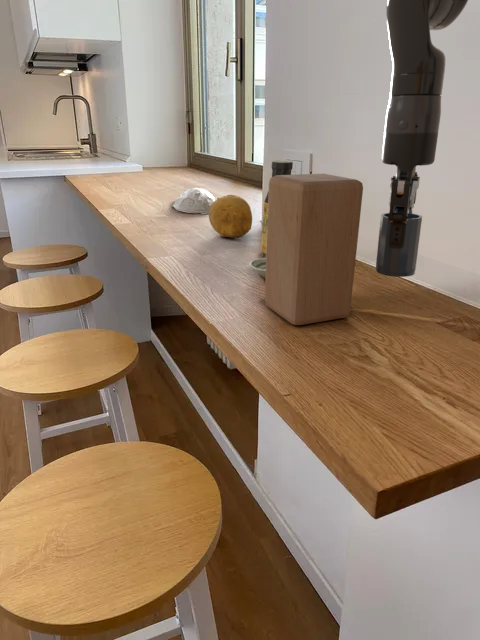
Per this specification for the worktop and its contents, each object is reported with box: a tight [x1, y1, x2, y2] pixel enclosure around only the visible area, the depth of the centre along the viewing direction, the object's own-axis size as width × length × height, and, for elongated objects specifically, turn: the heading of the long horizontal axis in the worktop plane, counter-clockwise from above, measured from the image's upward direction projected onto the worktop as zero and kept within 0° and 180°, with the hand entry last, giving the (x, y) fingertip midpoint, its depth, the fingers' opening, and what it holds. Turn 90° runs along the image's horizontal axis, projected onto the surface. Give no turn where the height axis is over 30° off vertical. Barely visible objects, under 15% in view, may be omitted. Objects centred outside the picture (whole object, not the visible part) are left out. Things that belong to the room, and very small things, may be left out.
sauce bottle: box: [261, 159, 294, 258], centre depth 100 cm, size 7×6×20 cm
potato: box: [208, 194, 253, 240], centre depth 122 cm, size 10×12×10 cm
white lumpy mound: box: [172, 187, 217, 215], centre depth 161 cm, size 16×25×7 cm, turn 7°
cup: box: [375, 212, 423, 278], centre depth 78 cm, size 6×6×9 cm
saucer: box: [248, 257, 266, 279], centre depth 93 cm, size 10×10×2 cm
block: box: [264, 173, 364, 326], centre depth 72 cm, size 10×10×20 cm
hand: (397, 242), depth 78 cm, fingers closed on cup, 6 cm apart
